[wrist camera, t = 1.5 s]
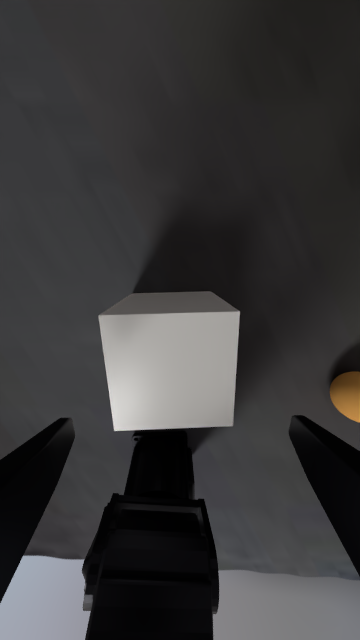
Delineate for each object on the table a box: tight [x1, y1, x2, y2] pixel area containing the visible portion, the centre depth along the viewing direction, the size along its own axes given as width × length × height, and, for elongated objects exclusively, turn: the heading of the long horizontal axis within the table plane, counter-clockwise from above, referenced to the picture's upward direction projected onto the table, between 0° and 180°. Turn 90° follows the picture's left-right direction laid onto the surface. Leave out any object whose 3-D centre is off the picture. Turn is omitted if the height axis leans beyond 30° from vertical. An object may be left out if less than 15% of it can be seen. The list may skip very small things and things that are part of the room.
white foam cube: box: [98, 291, 240, 431], centre depth 16 cm, size 8×8×9 cm
